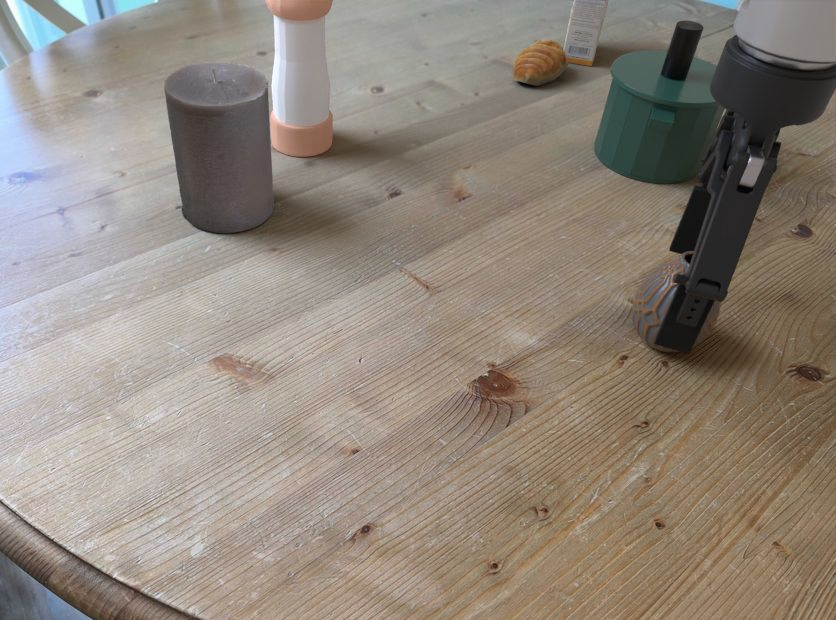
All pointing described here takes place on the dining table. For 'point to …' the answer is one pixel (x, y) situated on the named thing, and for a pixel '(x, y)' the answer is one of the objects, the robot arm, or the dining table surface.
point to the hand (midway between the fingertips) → (678, 296)
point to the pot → (653, 137)
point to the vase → (664, 302)
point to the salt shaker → (300, 78)
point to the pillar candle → (221, 145)
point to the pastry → (540, 63)
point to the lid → (669, 71)
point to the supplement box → (584, 30)
